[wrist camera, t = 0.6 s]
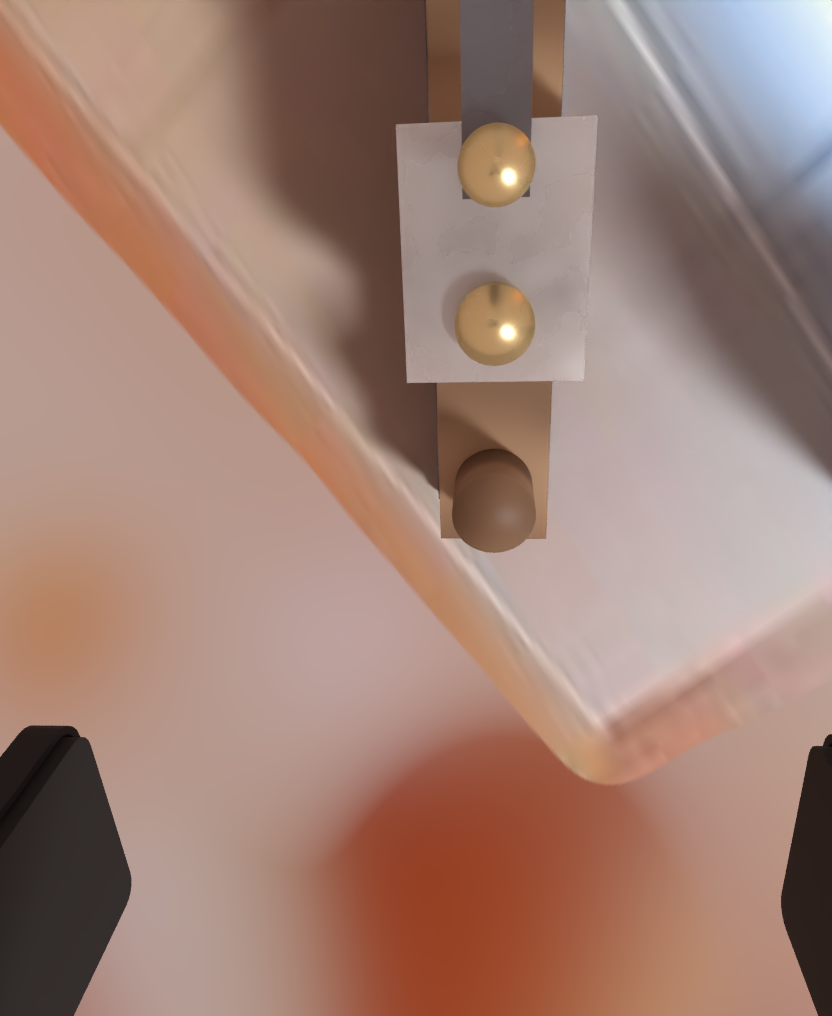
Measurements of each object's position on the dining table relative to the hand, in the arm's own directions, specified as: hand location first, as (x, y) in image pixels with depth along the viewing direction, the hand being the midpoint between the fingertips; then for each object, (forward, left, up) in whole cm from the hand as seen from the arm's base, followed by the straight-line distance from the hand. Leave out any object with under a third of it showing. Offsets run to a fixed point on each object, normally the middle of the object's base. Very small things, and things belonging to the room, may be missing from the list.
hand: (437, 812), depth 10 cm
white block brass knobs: (-5, +1, -22) cm, 23 cm away
